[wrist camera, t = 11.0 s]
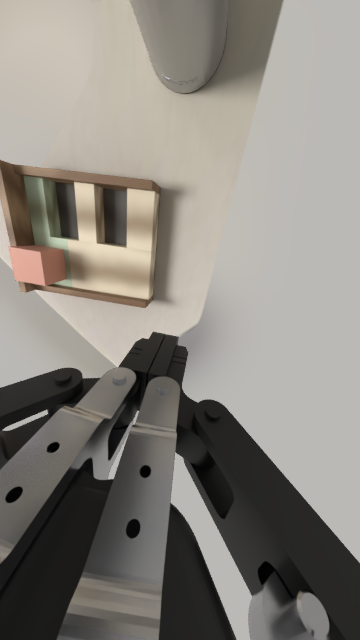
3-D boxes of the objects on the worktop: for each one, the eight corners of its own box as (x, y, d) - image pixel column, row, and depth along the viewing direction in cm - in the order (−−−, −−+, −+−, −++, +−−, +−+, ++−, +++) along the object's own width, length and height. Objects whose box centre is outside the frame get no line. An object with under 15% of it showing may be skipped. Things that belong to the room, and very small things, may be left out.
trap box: (32, 172, 32) (-9, 158, 26) (160, 187, 30) (147, 176, 24) (49, 282, 39) (20, 291, 33) (152, 299, 38) (141, 312, 32)
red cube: (35, 244, 33) (8, 246, 29) (63, 249, 33) (40, 251, 28) (40, 274, 35) (15, 280, 31) (66, 279, 35) (45, 285, 31)
